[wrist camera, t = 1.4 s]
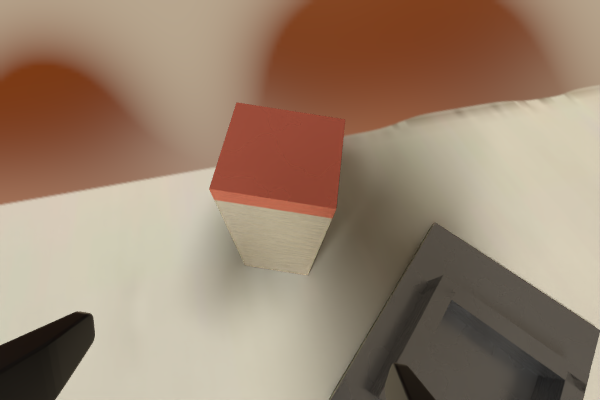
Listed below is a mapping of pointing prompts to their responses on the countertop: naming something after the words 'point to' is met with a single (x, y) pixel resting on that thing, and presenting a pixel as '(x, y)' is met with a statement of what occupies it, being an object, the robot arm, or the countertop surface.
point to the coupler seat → (472, 333)
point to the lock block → (278, 184)
